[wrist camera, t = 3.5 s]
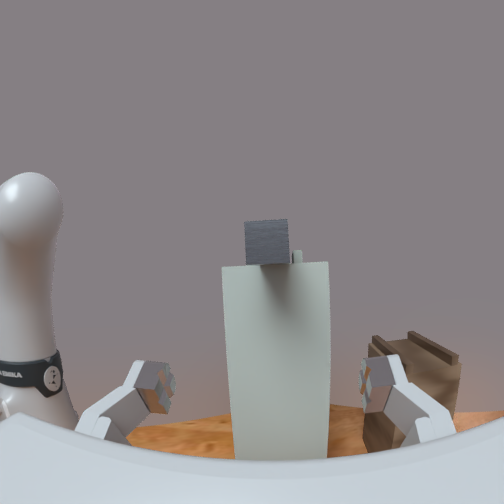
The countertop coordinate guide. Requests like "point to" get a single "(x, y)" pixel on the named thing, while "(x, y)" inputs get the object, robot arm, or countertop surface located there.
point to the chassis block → (420, 374)
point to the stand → (278, 358)
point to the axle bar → (267, 242)
